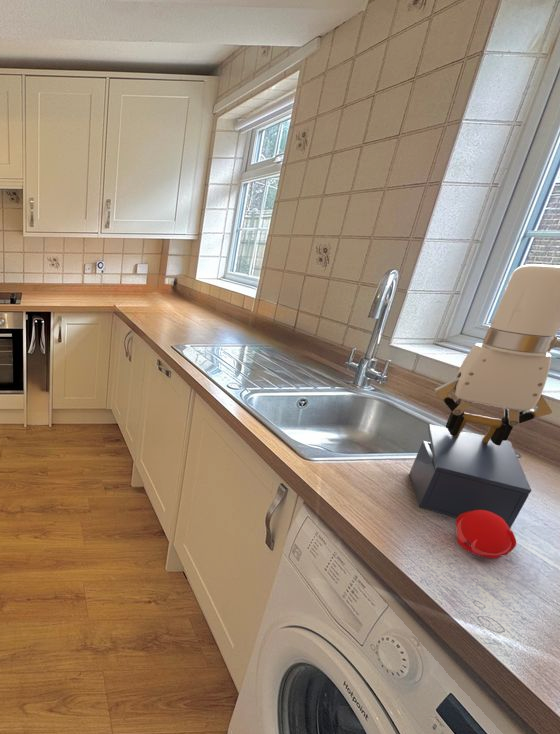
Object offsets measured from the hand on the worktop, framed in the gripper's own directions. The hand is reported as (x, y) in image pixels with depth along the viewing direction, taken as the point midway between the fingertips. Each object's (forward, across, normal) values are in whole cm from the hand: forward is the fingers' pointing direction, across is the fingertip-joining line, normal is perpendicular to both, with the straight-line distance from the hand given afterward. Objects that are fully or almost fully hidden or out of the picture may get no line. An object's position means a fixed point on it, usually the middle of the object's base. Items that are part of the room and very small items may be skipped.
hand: (473, 436), depth 75 cm
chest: (+12, 0, +4) cm, 12 cm away
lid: (+2, 0, +4) cm, 5 cm away
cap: (+12, -1, +19) cm, 22 cm away
